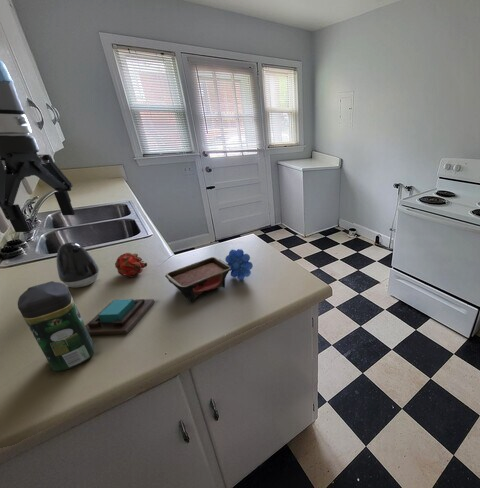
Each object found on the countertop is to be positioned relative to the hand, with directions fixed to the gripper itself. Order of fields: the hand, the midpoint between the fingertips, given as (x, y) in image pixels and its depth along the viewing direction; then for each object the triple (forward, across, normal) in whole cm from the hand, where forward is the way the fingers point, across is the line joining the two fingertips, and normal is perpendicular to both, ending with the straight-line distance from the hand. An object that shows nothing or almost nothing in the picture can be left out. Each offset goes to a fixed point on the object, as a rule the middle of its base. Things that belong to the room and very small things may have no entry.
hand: (48, 222), depth 70 cm
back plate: (+27, -6, -14) cm, 31 cm away
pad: (+26, -6, -14) cm, 30 cm away
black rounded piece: (+27, +14, +10) cm, 32 cm away
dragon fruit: (+27, +20, -3) cm, 34 cm away
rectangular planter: (+27, +8, -32) cm, 43 cm away
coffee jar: (+27, -20, -12) cm, 36 cm away
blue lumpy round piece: (+27, +14, -44) cm, 53 cm away
